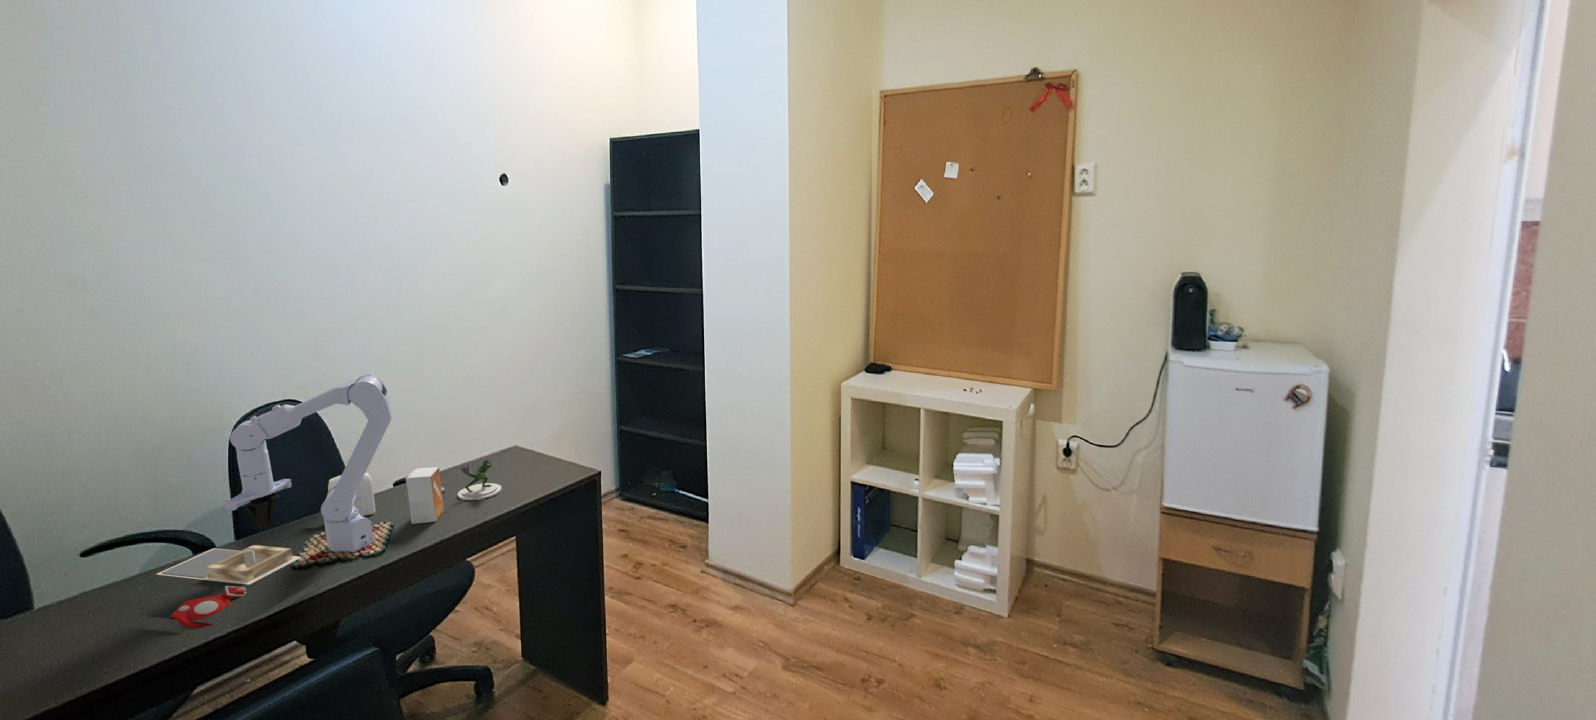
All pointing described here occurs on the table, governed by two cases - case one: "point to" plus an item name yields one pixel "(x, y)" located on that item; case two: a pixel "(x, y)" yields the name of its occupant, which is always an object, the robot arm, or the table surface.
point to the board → (198, 564)
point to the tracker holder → (205, 607)
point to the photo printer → (361, 495)
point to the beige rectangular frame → (231, 572)
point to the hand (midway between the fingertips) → (265, 526)
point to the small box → (425, 495)
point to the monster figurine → (479, 489)
